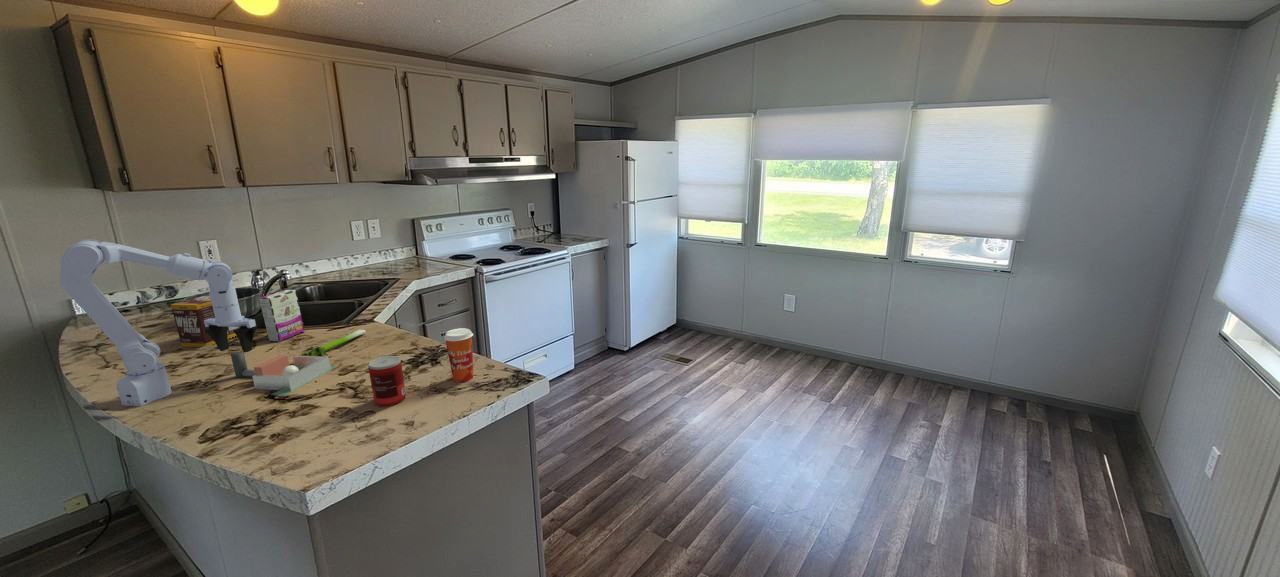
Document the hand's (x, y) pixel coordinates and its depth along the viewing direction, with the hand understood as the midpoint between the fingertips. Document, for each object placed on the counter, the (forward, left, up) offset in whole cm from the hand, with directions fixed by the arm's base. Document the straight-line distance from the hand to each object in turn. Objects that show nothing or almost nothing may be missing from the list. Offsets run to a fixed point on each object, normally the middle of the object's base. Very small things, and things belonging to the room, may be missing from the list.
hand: (236, 350), depth 147 cm
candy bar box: (+36, +18, -10) cm, 41 cm away
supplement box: (+31, +43, -10) cm, 54 cm away
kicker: (0, -5, -8) cm, 9 cm away
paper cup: (+7, -65, -10) cm, 66 cm away
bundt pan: (+56, +63, -10) cm, 85 cm away
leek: (+26, -10, -10) cm, 29 cm away
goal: (0, -17, -8) cm, 18 cm away
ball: (0, -16, -6) cm, 17 cm away
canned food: (-8, -52, -10) cm, 53 cm away
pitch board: (0, -6, -9) cm, 11 cm away
